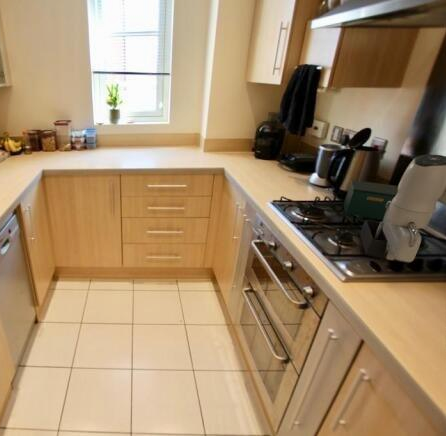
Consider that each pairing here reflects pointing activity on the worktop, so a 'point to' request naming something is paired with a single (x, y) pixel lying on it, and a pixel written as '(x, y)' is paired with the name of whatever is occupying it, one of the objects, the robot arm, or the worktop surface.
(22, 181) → the worktop surface
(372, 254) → the cutlery holder
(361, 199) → the bread bin
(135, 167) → the worktop surface
